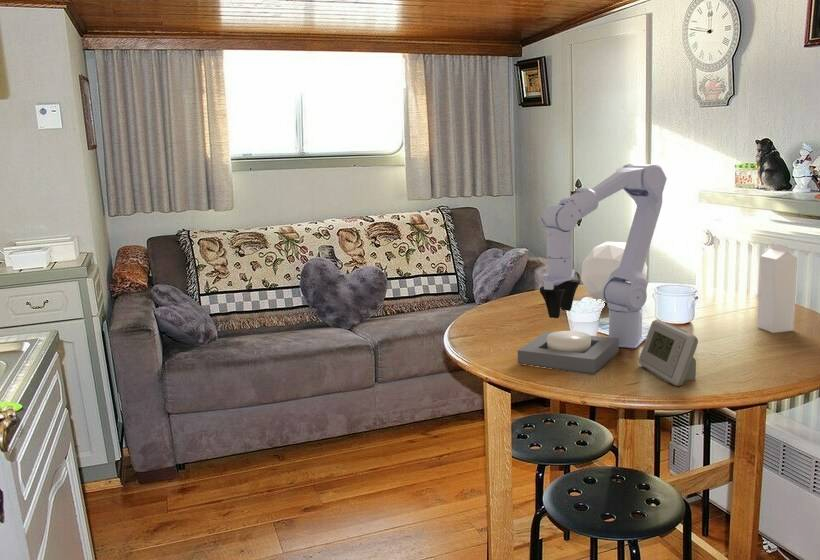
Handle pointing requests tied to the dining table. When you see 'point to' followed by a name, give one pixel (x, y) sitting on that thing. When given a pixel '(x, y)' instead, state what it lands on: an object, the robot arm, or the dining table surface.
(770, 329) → the milk
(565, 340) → the button cap
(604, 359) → the button housing
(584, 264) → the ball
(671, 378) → the digital clock
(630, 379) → the dining table surface
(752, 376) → the dining table surface
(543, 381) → the dining table surface
